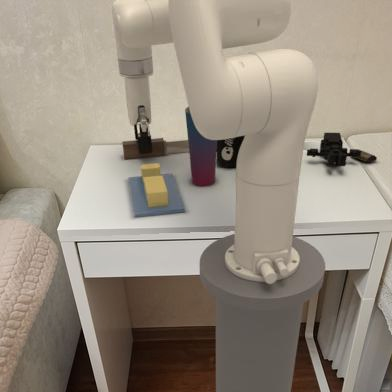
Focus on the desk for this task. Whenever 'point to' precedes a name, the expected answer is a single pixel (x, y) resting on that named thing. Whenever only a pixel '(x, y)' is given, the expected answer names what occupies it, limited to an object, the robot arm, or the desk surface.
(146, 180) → the butter bar
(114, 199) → the desk surface
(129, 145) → the knife
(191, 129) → the cup
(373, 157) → the block
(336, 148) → the toy
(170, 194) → the butter plate
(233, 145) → the beverage can
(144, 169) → the butter pat
